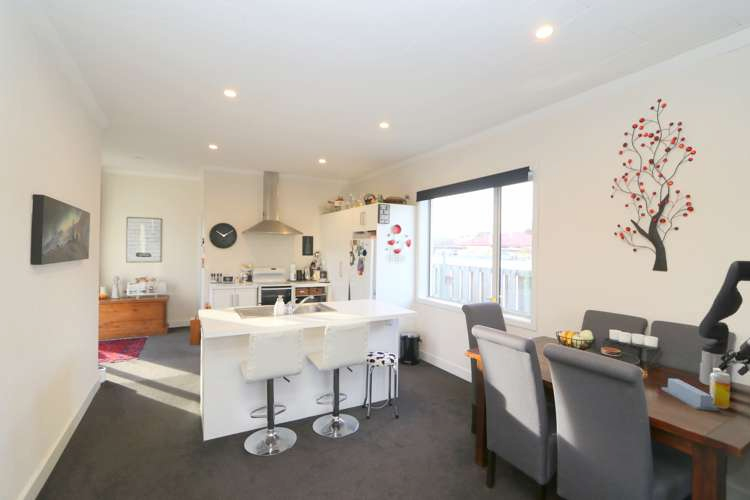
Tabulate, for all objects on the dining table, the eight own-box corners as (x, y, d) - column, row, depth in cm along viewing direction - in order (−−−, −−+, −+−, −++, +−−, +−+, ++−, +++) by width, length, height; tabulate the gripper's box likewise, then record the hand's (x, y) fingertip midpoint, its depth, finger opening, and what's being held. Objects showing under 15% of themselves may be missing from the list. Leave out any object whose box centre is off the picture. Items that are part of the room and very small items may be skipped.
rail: (661, 389, 181) (661, 377, 180) (680, 390, 180) (681, 378, 180) (696, 409, 159) (697, 395, 159) (718, 410, 158) (719, 397, 158)
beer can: (732, 410, 159) (734, 376, 159) (716, 408, 160) (718, 375, 160) (722, 404, 165) (723, 371, 164) (707, 402, 166) (708, 370, 166)
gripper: (767, 343, 150) (739, 368, 158) (735, 335, 149) (708, 361, 158) (783, 356, 143) (752, 382, 152) (749, 348, 143) (720, 374, 151)
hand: (730, 371), depth 155 cm, fingers open, 8 cm apart
